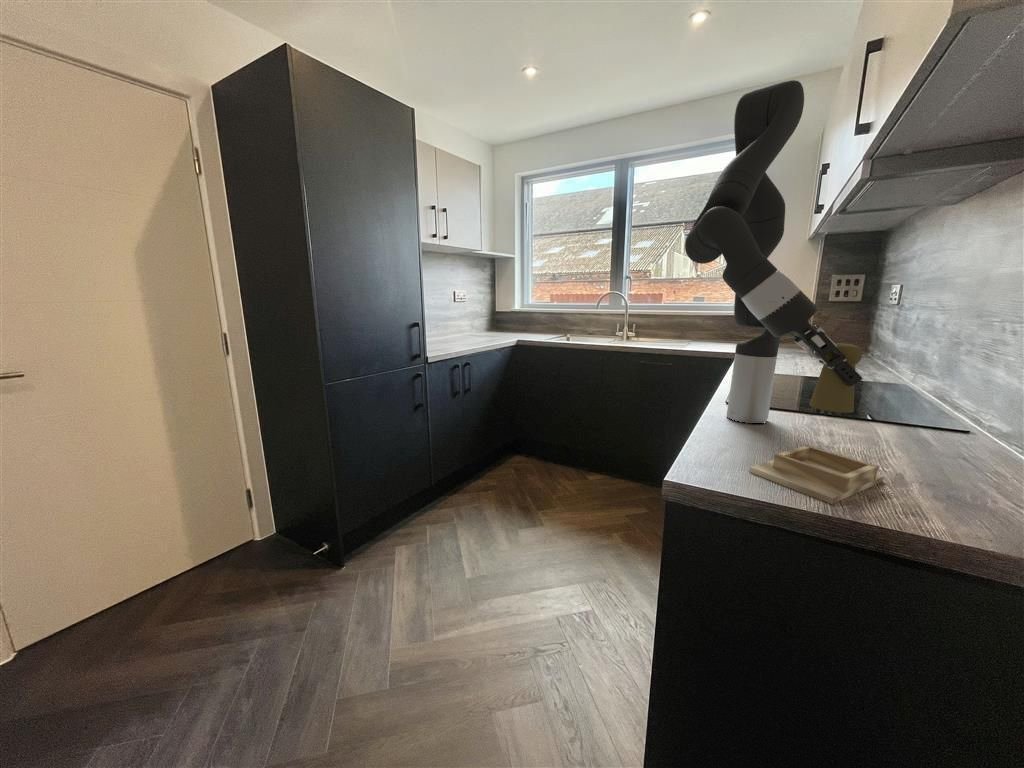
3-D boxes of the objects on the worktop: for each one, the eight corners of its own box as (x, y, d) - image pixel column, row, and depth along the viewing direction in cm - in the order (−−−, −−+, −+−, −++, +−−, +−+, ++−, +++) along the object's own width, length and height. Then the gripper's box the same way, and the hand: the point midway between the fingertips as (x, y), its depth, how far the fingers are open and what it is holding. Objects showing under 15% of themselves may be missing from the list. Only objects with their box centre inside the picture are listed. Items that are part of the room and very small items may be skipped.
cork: (812, 409, 67) (824, 343, 65) (806, 401, 73) (817, 341, 70) (858, 414, 65) (872, 346, 62) (848, 406, 70) (861, 343, 67)
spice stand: (802, 455, 82) (805, 439, 81) (883, 481, 71) (887, 462, 70) (749, 471, 73) (752, 453, 73) (831, 504, 62) (836, 483, 61)
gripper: (806, 287, 61) (891, 372, 59) (792, 289, 74) (861, 360, 71) (760, 320, 65) (838, 402, 62) (754, 317, 77) (819, 385, 75)
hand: (850, 379), depth 67 cm, fingers closed on cork, 5 cm apart
